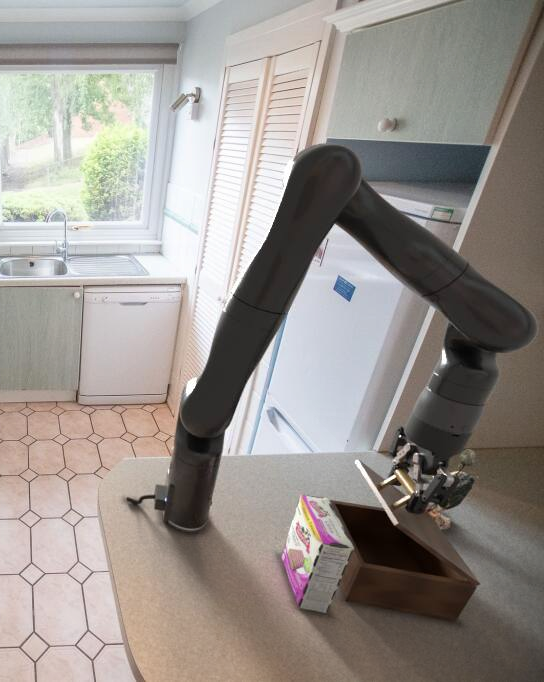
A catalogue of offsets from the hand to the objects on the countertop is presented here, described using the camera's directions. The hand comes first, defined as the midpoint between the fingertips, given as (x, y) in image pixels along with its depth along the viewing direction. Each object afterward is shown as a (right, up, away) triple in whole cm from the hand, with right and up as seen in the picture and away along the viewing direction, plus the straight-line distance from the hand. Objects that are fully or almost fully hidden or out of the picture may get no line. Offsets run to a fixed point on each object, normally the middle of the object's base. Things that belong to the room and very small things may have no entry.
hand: (403, 497), depth 78 cm
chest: (+2, -17, +7) cm, 19 cm away
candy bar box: (-14, -18, +5) cm, 24 cm away
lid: (+2, -4, +1) cm, 5 cm away
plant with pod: (+22, -11, +20) cm, 32 cm away
